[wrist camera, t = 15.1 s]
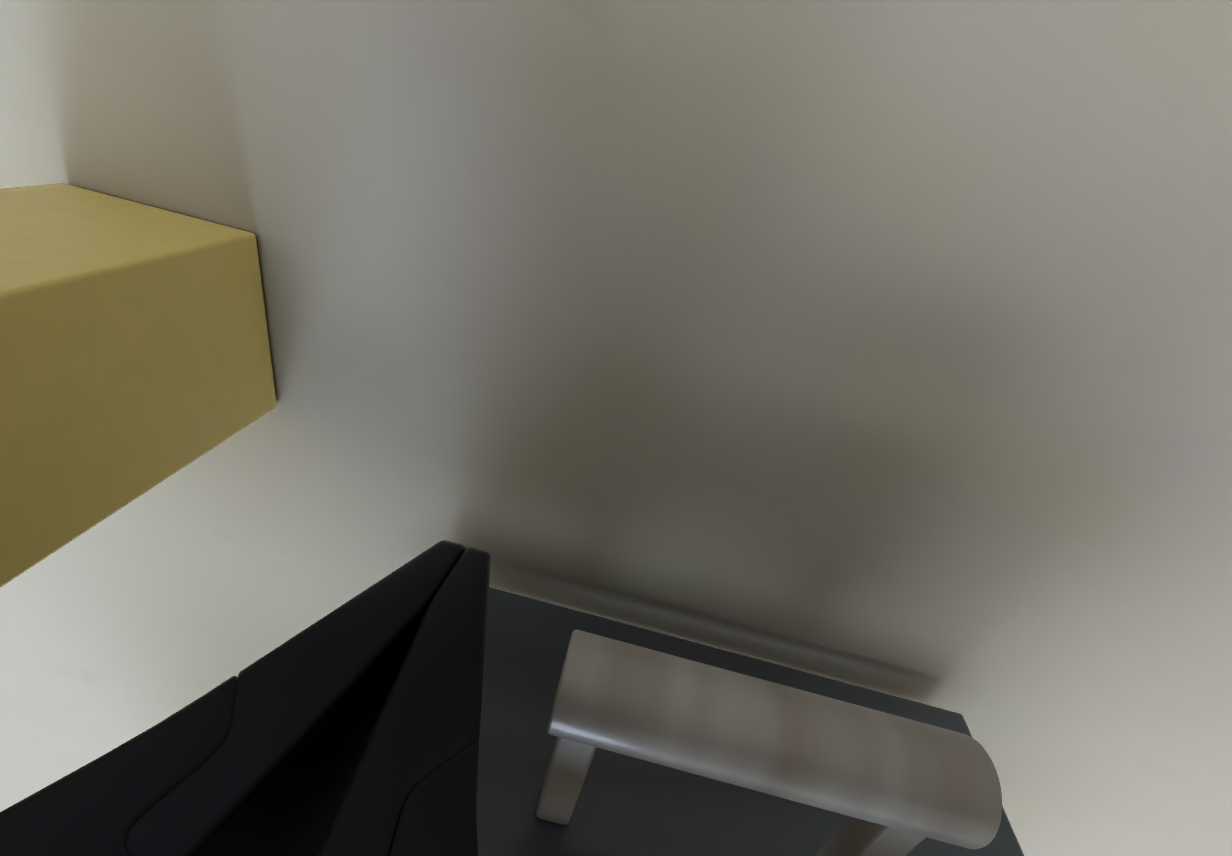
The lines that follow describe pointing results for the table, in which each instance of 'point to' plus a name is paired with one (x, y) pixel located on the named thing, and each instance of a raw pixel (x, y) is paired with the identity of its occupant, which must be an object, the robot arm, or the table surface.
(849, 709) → the drawer
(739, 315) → the table surface
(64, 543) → the block
